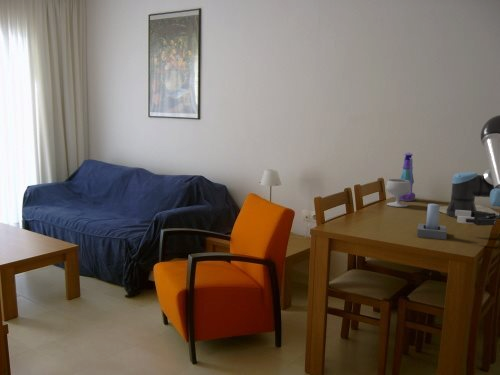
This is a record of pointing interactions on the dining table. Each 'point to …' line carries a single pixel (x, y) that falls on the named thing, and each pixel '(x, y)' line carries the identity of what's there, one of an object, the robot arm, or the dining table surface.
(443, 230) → the socket block
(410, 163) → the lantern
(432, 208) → the peg
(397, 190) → the chalice
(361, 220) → the dining table surface
